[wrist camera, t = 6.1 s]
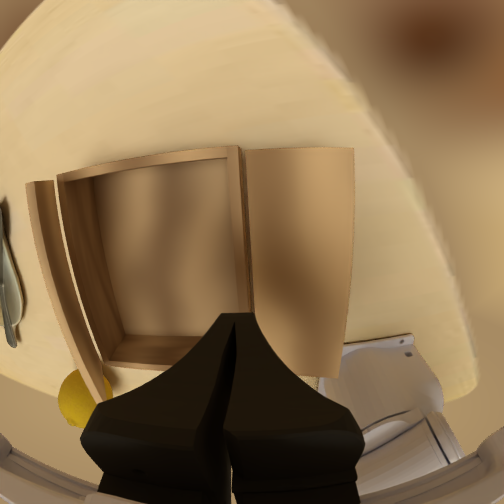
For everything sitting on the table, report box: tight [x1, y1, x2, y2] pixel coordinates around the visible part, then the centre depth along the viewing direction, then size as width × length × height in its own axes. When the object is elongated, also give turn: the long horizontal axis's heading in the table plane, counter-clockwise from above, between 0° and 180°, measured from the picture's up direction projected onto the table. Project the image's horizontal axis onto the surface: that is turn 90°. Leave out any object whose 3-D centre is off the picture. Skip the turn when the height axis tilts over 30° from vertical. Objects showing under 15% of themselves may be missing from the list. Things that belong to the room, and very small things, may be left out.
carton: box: [57, 145, 252, 371], centre depth 19 cm, size 12×15×4 cm
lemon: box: [58, 369, 113, 428], centre depth 22 cm, size 6×6×8 cm
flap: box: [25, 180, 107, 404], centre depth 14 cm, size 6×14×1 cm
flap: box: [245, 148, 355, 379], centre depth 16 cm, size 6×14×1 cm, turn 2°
